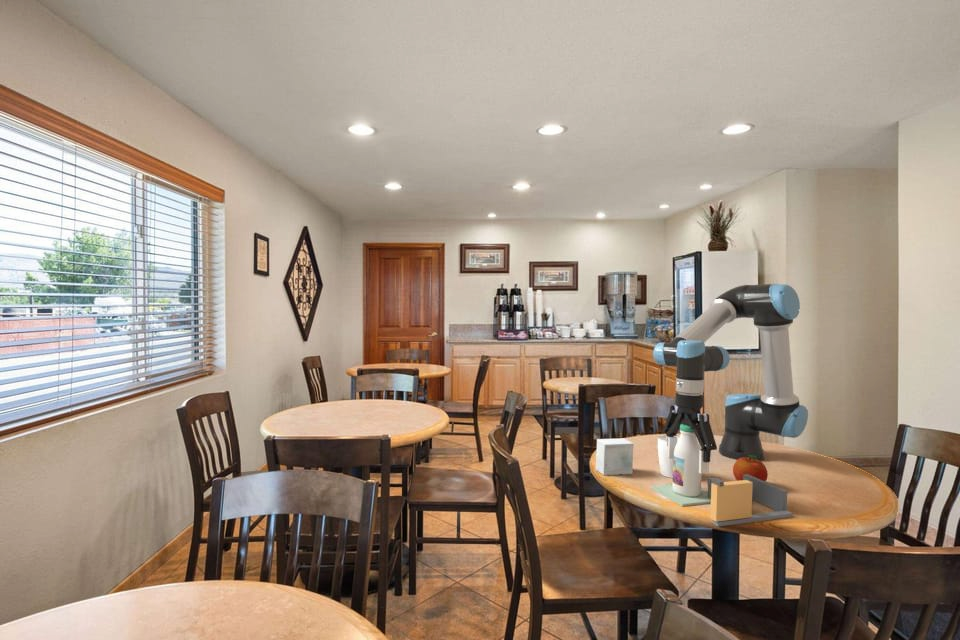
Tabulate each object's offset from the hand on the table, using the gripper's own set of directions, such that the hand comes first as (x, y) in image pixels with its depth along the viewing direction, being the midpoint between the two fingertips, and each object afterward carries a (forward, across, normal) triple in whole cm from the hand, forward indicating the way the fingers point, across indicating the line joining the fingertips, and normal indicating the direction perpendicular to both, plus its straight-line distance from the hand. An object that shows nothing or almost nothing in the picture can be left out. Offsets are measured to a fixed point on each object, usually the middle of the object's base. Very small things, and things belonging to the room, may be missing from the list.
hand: (687, 465), depth 145 cm
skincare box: (+9, -23, -10) cm, 27 cm away
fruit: (+9, -2, +25) cm, 27 cm away
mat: (+9, 0, 0) cm, 9 cm away
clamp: (+9, +12, +6) cm, 16 cm away
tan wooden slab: (+7, +19, -2) cm, 20 cm away
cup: (+9, -16, +7) cm, 20 cm away
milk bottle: (+8, 0, 0) cm, 8 cm away
